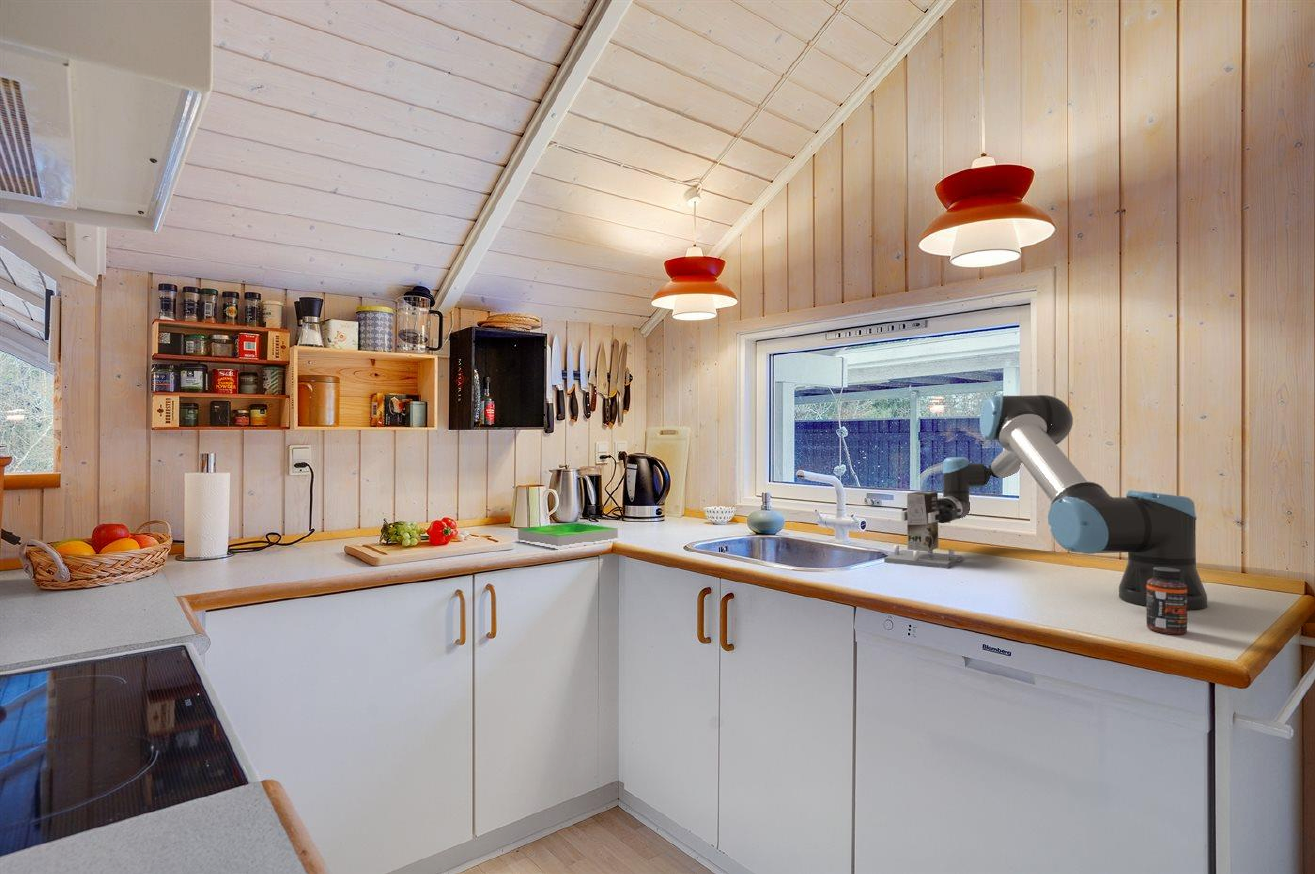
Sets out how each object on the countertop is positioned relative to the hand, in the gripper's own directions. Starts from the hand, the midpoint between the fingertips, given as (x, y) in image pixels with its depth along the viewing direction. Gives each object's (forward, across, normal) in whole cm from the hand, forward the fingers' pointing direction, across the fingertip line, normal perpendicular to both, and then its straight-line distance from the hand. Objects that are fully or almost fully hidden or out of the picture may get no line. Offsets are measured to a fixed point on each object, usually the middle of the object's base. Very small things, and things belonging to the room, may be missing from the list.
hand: (916, 517), depth 191 cm
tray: (+34, +110, -14) cm, 116 cm away
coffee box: (-5, 0, -10) cm, 11 cm away
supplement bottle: (+37, -60, -13) cm, 72 cm away
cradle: (-5, 0, -13) cm, 14 cm away
